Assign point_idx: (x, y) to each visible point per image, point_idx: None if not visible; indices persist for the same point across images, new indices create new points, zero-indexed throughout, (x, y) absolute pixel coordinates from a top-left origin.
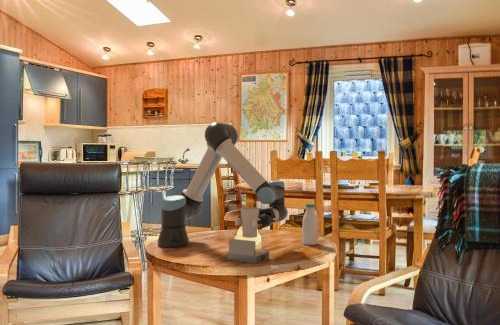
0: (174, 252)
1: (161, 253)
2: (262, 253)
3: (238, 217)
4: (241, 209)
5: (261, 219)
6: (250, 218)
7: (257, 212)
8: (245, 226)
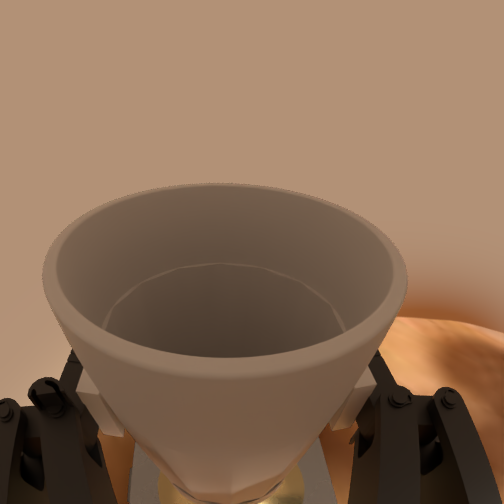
0: (498, 370)
1: (495, 343)
2: (137, 478)
3: (438, 393)
4: (292, 198)
5: (69, 402)
6: (170, 291)
7: (83, 276)
8: (228, 351)
